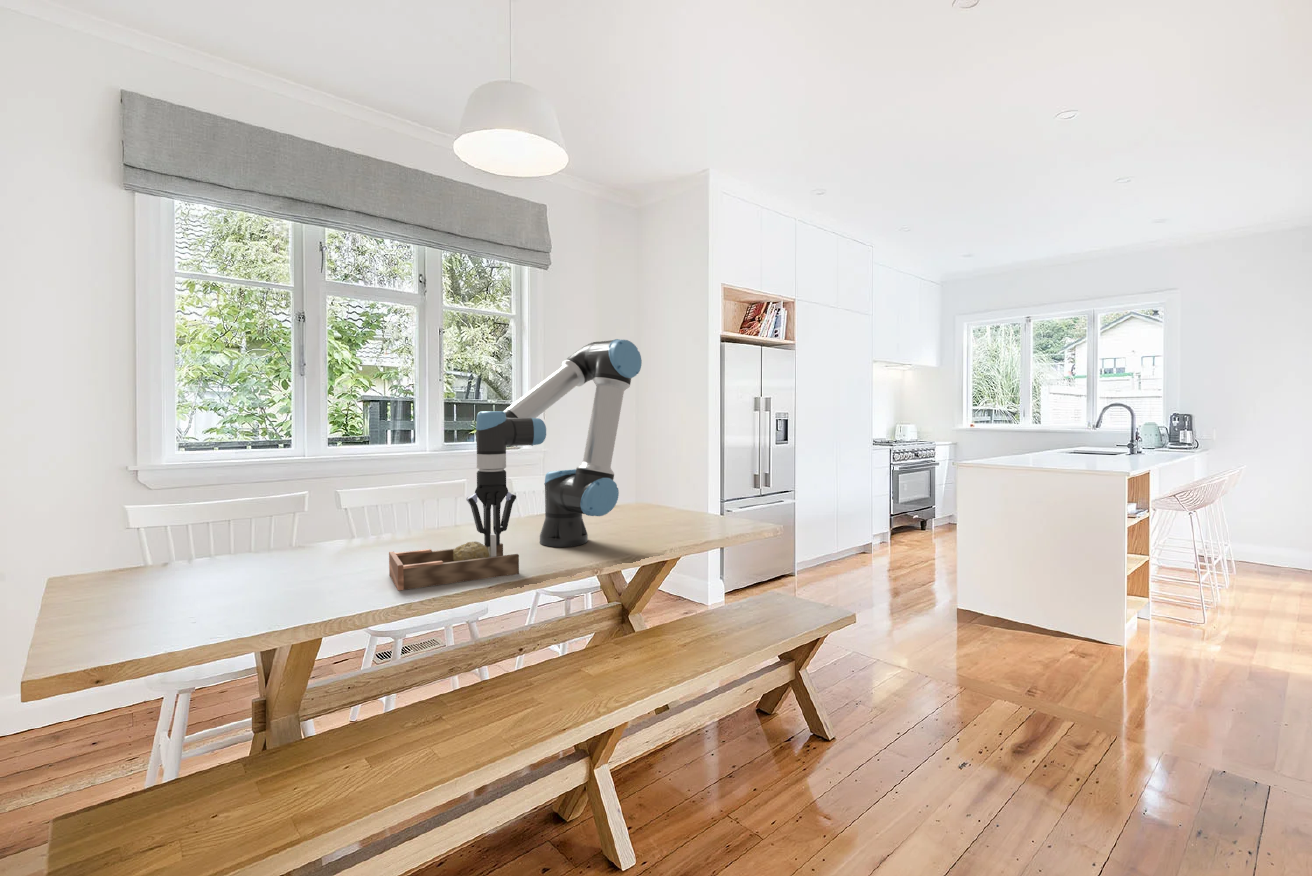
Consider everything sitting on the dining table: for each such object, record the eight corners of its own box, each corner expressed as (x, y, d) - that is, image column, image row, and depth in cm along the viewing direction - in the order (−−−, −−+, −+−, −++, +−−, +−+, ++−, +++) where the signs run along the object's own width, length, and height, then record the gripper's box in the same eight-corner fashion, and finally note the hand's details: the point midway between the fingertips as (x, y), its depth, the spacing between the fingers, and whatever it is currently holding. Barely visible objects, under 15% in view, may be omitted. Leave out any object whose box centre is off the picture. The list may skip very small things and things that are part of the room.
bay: (501, 560, 174) (501, 539, 174) (518, 573, 161) (518, 551, 161) (389, 575, 159) (388, 552, 159) (398, 590, 146) (397, 565, 146)
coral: (493, 574, 160) (493, 545, 160) (456, 578, 156) (456, 548, 156) (486, 565, 168) (486, 538, 168) (451, 569, 164) (451, 541, 164)
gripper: (511, 467, 170) (511, 552, 171) (462, 469, 163) (463, 558, 165) (520, 469, 164) (520, 558, 165) (470, 472, 157) (471, 564, 158)
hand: (492, 558), depth 165 cm, fingers closed
